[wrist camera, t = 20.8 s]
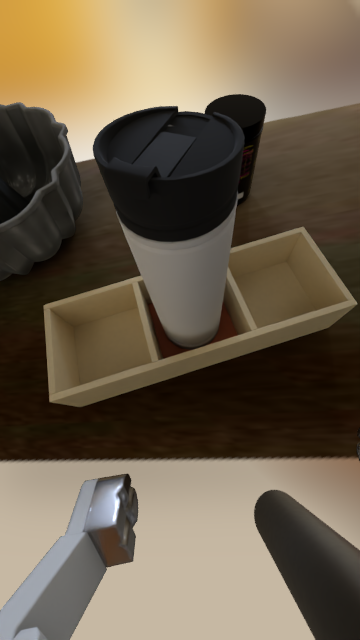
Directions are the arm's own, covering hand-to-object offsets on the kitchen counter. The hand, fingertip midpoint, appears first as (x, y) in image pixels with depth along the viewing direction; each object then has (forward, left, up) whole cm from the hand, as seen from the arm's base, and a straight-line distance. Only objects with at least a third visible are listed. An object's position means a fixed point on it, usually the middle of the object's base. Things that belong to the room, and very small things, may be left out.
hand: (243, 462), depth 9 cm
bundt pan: (+36, +19, -16) cm, 44 cm away
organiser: (+12, -1, -16) cm, 20 cm away
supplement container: (+31, -13, -16) cm, 37 cm away
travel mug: (+12, -1, -16) cm, 20 cm away
